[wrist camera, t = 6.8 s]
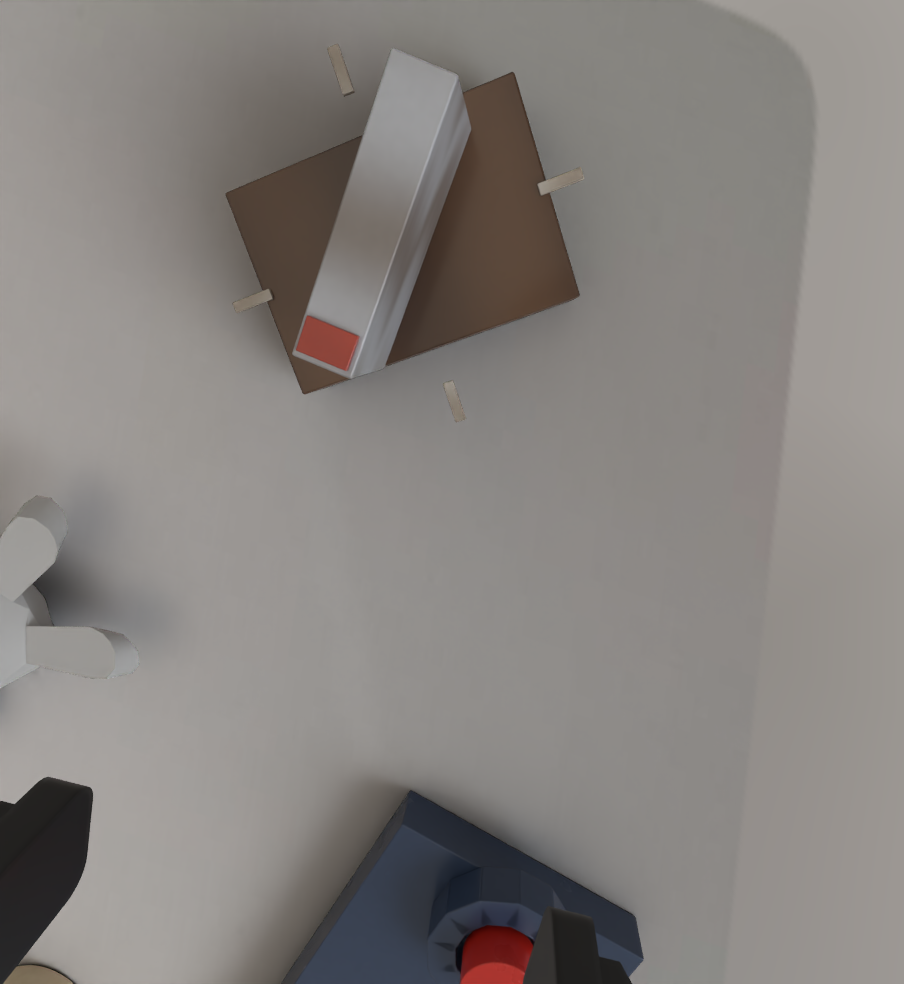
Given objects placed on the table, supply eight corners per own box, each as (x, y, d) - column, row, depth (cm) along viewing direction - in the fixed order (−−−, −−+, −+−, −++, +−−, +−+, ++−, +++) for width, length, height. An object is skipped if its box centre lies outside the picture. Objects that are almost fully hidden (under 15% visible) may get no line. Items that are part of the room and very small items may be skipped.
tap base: (522, 9, 23) (522, -40, 19) (622, 358, 25) (636, 362, 22) (204, 148, 25) (160, 122, 22) (325, 457, 27) (300, 474, 24)
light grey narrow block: (418, 106, 21) (389, 41, 16) (472, 127, 21) (458, 69, 16) (335, 349, 23) (287, 355, 18) (383, 369, 23) (348, 380, 18)
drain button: (486, 911, 27) (484, 950, 25) (549, 946, 27) (551, 987, 26) (449, 959, 28) (445, 1000, 26) (511, 993, 28) (511, 1036, 26)
